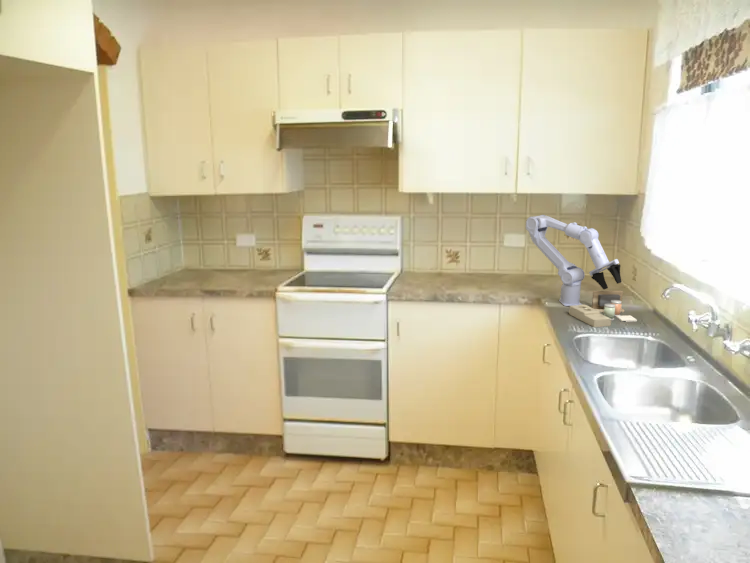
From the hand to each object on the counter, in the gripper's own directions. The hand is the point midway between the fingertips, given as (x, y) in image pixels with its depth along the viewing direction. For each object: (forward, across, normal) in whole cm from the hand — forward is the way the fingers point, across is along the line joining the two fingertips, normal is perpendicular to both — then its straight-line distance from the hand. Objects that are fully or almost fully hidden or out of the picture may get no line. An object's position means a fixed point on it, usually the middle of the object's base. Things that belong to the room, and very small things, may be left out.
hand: (612, 285), depth 236 cm
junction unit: (+8, +8, 0) cm, 12 cm away
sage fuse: (+12, +1, +9) cm, 15 cm away
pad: (+14, -2, +4) cm, 15 cm away
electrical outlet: (+10, +4, +16) cm, 19 cm away
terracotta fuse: (+11, +3, +3) cm, 12 cm away
